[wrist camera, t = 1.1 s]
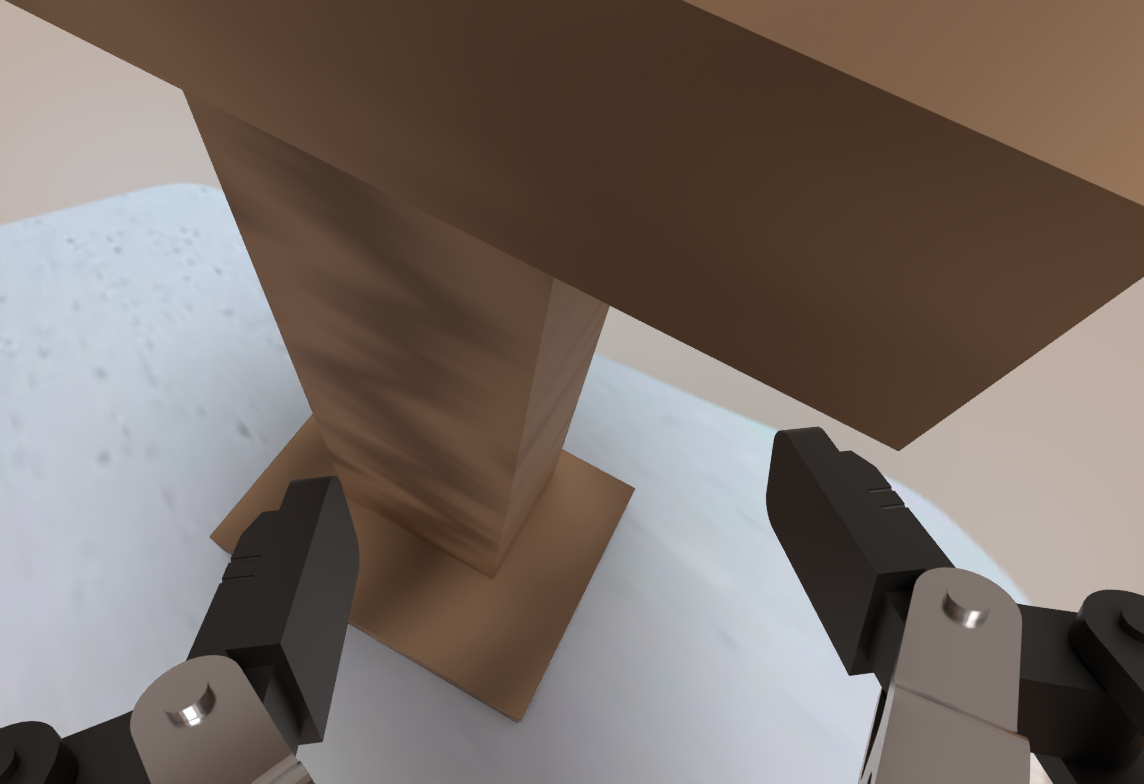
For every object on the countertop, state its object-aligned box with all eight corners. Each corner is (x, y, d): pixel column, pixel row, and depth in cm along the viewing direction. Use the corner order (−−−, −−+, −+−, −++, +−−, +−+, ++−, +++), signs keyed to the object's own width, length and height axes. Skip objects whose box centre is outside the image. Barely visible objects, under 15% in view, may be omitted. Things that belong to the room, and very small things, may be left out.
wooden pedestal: (222, 549, 32) (-1320, -891, 4) (373, 365, 38) (149, -732, 10) (517, 722, 30) (1205, 233, 2) (626, 501, 36) (1187, -367, 8)
